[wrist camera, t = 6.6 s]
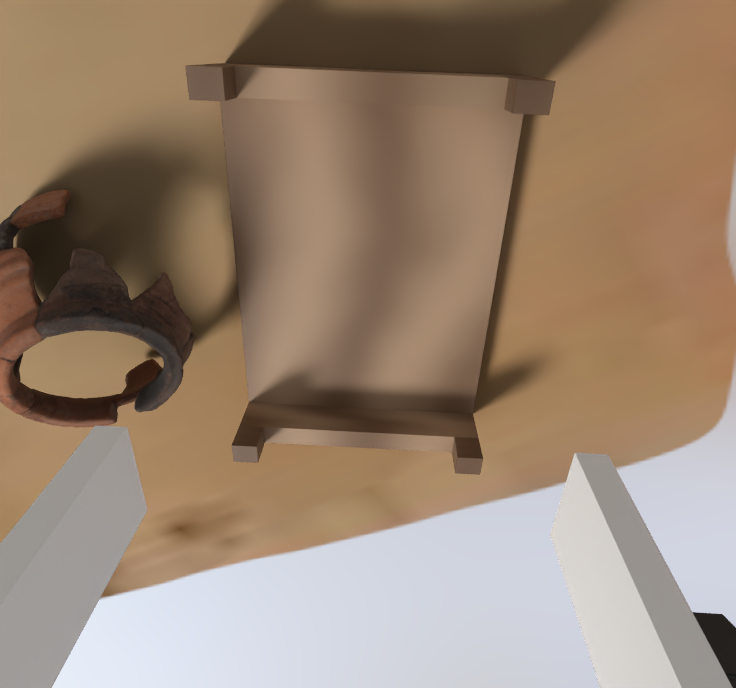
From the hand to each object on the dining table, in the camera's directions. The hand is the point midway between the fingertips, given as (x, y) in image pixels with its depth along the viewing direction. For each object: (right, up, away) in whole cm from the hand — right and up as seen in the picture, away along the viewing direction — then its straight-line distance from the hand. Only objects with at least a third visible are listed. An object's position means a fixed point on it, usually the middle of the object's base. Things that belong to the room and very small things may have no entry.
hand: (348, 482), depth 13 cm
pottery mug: (-15, +7, +14) cm, 22 cm away
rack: (0, +7, +12) cm, 14 cm away
